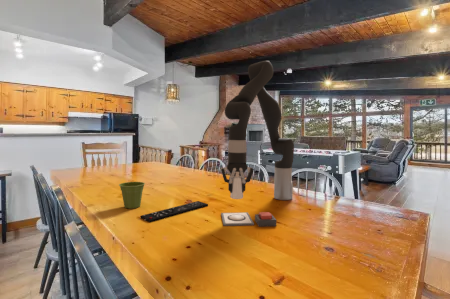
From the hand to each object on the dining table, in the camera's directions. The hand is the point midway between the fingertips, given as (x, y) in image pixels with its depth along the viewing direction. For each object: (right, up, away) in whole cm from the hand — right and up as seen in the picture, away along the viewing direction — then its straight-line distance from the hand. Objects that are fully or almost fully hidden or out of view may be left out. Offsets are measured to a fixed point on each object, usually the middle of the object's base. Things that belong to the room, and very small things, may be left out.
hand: (236, 191), depth 105 cm
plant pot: (-50, -10, +17) cm, 54 cm away
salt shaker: (0, -2, 0) cm, 2 cm away
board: (0, -12, +1) cm, 12 cm away
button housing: (+11, -12, -3) cm, 17 cm away
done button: (+11, -10, -3) cm, 15 cm away
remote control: (-27, -11, +11) cm, 31 cm away
